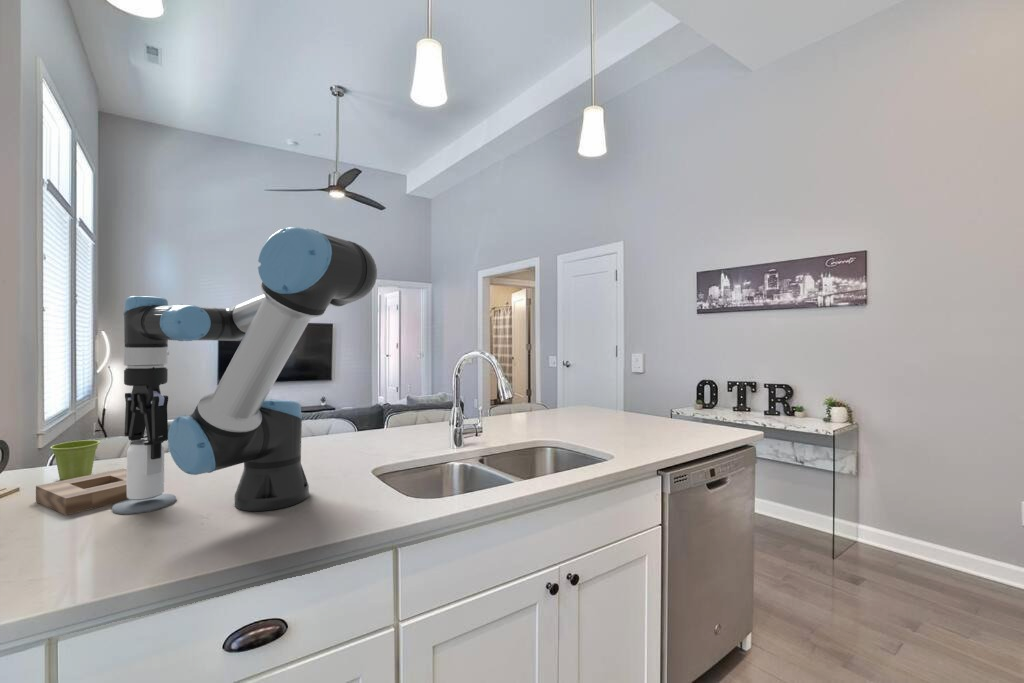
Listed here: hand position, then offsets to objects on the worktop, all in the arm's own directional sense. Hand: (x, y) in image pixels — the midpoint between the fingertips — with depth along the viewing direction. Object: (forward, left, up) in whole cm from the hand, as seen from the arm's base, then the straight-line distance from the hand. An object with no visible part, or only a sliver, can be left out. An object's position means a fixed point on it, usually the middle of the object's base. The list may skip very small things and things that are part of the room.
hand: (145, 471), depth 101 cm
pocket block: (+15, +3, -8) cm, 17 cm away
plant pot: (+39, -1, -8) cm, 40 cm away
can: (0, 0, -6) cm, 6 cm away
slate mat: (0, 0, -8) cm, 8 cm away
